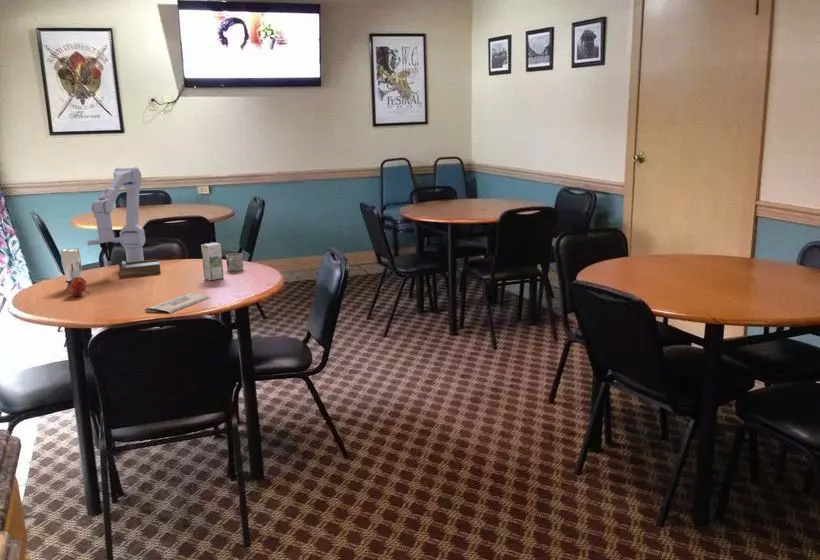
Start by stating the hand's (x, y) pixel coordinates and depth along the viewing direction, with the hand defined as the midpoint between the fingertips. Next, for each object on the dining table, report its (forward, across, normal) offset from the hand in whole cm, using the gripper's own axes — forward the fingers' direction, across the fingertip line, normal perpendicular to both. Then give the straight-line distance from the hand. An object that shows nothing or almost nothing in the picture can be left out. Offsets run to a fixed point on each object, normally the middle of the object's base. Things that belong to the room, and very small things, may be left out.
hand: (109, 260), depth 300 cm
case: (+7, +12, 0) cm, 13 cm away
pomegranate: (+7, -11, -32) cm, 35 cm away
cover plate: (+4, +12, 0) cm, 13 cm away
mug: (+7, +49, -19) cm, 53 cm away
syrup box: (+7, +39, -31) cm, 50 cm away
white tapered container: (+7, -13, -15) cm, 21 cm away
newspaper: (+8, +20, -67) cm, 71 cm away
